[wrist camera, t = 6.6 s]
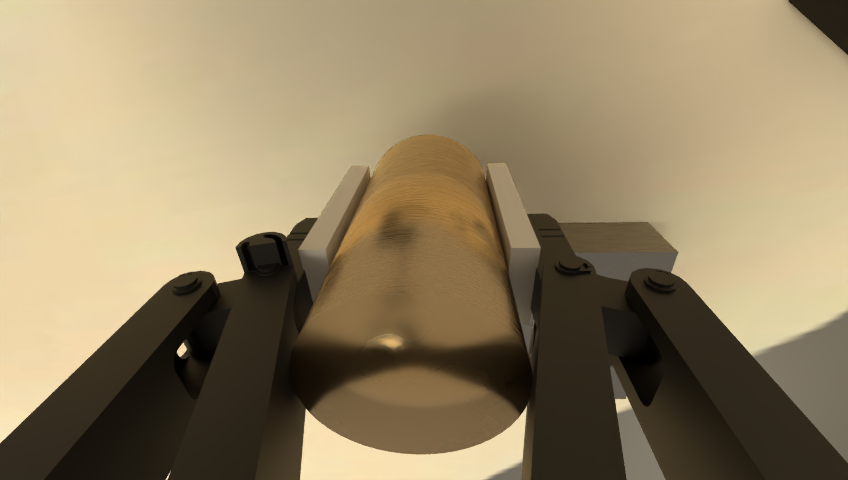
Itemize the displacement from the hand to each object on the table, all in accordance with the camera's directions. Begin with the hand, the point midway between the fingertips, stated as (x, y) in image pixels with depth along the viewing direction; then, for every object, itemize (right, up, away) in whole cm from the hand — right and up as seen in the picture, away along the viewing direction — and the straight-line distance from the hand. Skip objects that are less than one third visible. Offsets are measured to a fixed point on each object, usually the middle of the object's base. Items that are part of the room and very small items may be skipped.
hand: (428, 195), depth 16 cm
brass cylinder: (0, 0, 0) cm, 0 cm away
